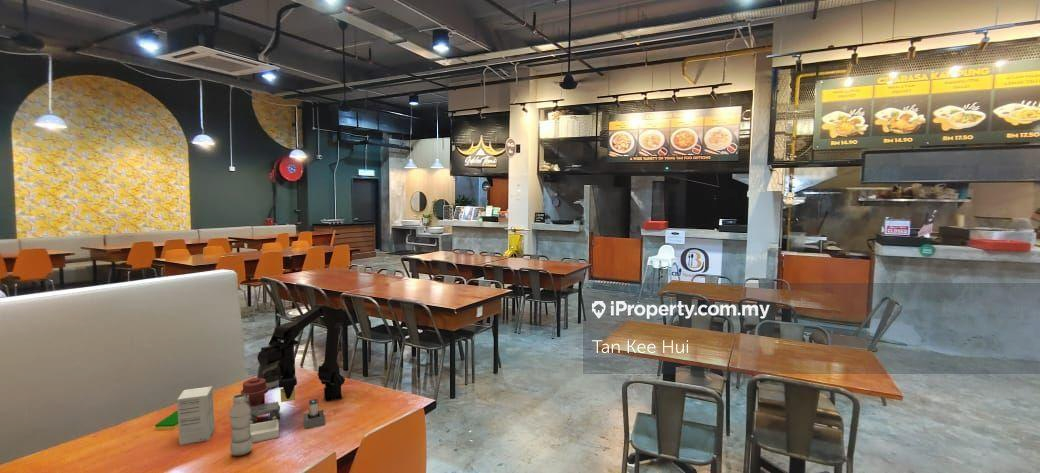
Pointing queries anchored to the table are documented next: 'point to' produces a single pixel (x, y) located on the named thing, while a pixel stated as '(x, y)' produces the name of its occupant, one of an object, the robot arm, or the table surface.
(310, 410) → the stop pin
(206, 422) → the supplement box
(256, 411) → the trolley
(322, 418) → the pin bracket
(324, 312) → the robot arm
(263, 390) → the mechanical component
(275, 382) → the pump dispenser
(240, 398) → the plastic bottle
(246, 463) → the table surface
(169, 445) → the table surface
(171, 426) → the dish sponge
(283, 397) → the block
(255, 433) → the tray
